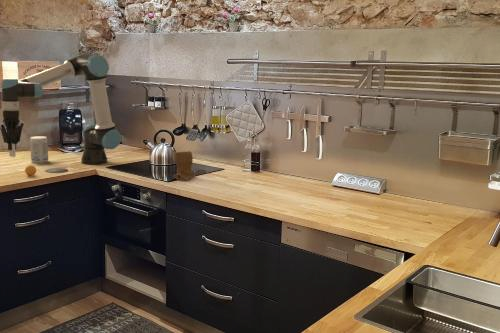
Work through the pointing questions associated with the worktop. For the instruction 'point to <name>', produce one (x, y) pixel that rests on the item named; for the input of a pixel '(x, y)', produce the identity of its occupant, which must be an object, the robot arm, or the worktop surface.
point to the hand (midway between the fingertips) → (12, 156)
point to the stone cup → (184, 165)
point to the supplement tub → (39, 149)
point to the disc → (56, 170)
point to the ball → (30, 170)
